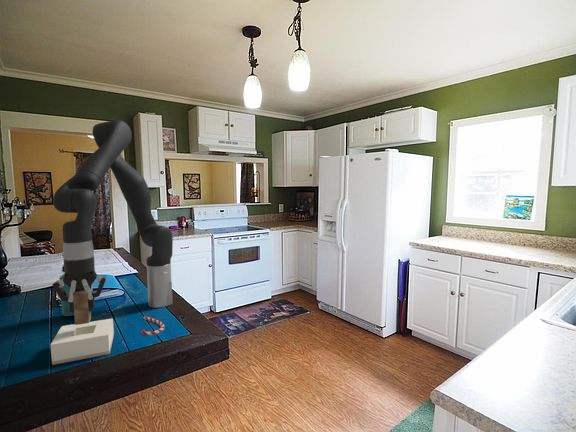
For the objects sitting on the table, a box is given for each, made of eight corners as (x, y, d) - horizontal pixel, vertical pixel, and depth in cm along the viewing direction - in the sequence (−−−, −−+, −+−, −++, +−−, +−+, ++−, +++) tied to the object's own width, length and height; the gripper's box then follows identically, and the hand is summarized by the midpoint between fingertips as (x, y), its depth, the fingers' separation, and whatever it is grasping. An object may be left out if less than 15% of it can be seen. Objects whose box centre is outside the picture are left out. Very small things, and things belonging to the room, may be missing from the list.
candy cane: (153, 313, 118) (168, 327, 107) (154, 316, 118) (168, 331, 107) (131, 319, 113) (144, 335, 102) (132, 323, 113) (145, 338, 102)
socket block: (113, 335, 103) (112, 318, 102) (109, 353, 92) (108, 334, 91) (63, 344, 97) (61, 326, 96) (52, 364, 86) (50, 344, 85)
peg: (91, 318, 96) (89, 287, 95) (88, 323, 93) (86, 290, 91) (77, 320, 94) (75, 288, 93) (75, 325, 91) (72, 292, 90)
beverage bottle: (72, 320, 113) (68, 268, 111) (57, 319, 115) (53, 266, 112) (87, 313, 120) (83, 263, 117) (72, 311, 121) (69, 262, 119)
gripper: (108, 251, 97) (110, 303, 99) (53, 255, 92) (57, 310, 94) (104, 256, 91) (107, 312, 92) (45, 261, 85) (50, 320, 87)
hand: (82, 311), depth 93 cm, fingers closed on peg, 3 cm apart
